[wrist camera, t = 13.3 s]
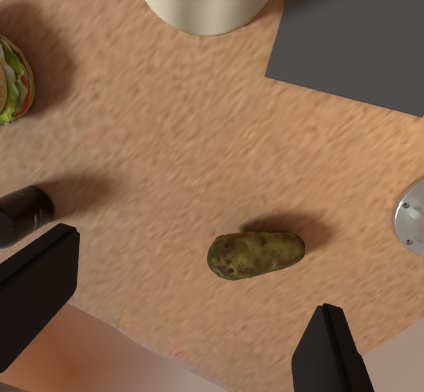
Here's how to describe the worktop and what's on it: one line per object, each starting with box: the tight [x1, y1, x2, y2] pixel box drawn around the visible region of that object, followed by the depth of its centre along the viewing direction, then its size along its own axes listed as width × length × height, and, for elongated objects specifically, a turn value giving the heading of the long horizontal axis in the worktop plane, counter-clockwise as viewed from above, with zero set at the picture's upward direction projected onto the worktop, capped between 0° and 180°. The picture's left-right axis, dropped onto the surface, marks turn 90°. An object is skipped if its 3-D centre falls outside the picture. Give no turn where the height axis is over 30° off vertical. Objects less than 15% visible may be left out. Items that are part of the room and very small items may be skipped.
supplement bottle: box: [0, 187, 54, 249], centre depth 43 cm, size 7×7×12 cm
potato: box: [207, 231, 305, 280], centre depth 40 cm, size 8×13×8 cm, turn 75°
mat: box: [265, 0, 424, 117], centre depth 31 cm, size 19×19×1 cm
